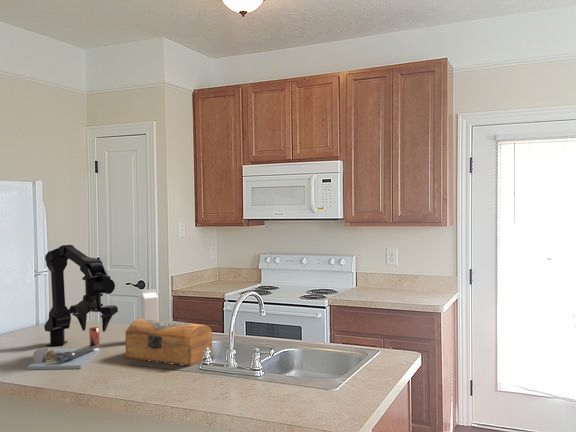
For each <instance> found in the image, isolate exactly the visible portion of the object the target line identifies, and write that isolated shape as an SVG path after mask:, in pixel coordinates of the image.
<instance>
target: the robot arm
mask: <svg viewBox="0 0 576 432" xmlns="http://www.w3.org/2000/svg"><path fill="white" fill-rule="evenodd" d="M44 260H45V266H46V268H48V270H49V271H50V272H49V273H50V279H51V282H50V283H51V298H52V299H51V301H52V307H51V309H50V310H49V312H48V320H47V321H46V322H45V324H44V326H43V328H44V332H49V343H47V344H46V346H47V347H49V346H50V347H51V346H52V347H53V346H54V347H56V346H57V347H58V346H61V347H62V346H65V345H66V344H67V343H68V340H66V338H65V332H66V331H65V330H67V329H70V326H71V321H72V316H74V317H75V318H77V320H78V323H79V324H80V327H81V329H82V332H84V331H86V327H87V319H88V318H87V317H88V315H87V314H89V313H90V312H91V313H93V312H94V313H100V314H101V315H100V318H101V320H102V321H101V322H102V325H101V326H102V329H101V330H102V332H103V333H105V332H106V330H107V328H108V325H109V323H110V321H111V320H112V317H113V316H114V315H116V313H119V311H118V310H119V309H118V306H117V305H115V304H113V305H105V306H104V303H102V299H101V298H102V297H103V296H104V294H105V295H106V294H107V295H109V294H110V295H111V294H112V293H113V292H114V291H115V289H116V284H115V282H114V280H113V279H112V278H111V275H108V272H107V269H106V268H105V265H104V263H103V262H102V260H101V259H98V258H95V257H90V256H87V255H86V254H85V253H83V252H82V251H80V250H79V249H78V248H76V247H75V246H74V245H73V244H63V245H60V246H59V247H57V248H55V249H53V250H50V251H47V253H46V254H45V256H44ZM68 260H70V261H72V262H73V263H74V264H76V265H77V266H78V267H79V270H80V272H82V274H84V276H83V277H82V281H84V285H85V286H84V287H85V289H84V290H85V291H84V292H85V293H84V295H82V300H80V301H79V302H78V303H76V304H73V305H71V306H70V307H69V308H68V307H67V306H66V295H65V293H66V292H65V291H66V290H65V274H64V271H65V269H66V267H67V266H68Z"/></svg>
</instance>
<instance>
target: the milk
mask: <svg viewBox="0 0 576 432" xmlns="http://www.w3.org/2000/svg"><path fill="white" fill-rule="evenodd" d="M156 291H157V289H156V288H152V289H142V291H141V293H142V294H141V295H140V296H139V297H140V298H139V299H140V300H139V301H140V307H139V308H140V319H150V320H159V297H158V294H157V293H156Z"/></svg>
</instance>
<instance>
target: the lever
mask: <svg viewBox="0 0 576 432" xmlns="http://www.w3.org/2000/svg"><path fill="white" fill-rule="evenodd" d="M88 330H89V345H86V346H84V347H81V348H77V349H78V350H75V351H71V352H65V353H57V354H54V360H55V361H65V360H67V359H72V358H75V357H76V356H77V355H80V354H82V353H85V352H87V351H90V350H92V349H95V348H98V346H99V345H100V327H99V326H93V327H89V328H88Z"/></svg>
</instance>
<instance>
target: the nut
mask: <svg viewBox="0 0 576 432" xmlns="http://www.w3.org/2000/svg"><path fill="white" fill-rule="evenodd" d="M54 354H56V352H55V351H53V350H52V349H51V350H47V354H46V358H47V359H48V360H51V359H54Z"/></svg>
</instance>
